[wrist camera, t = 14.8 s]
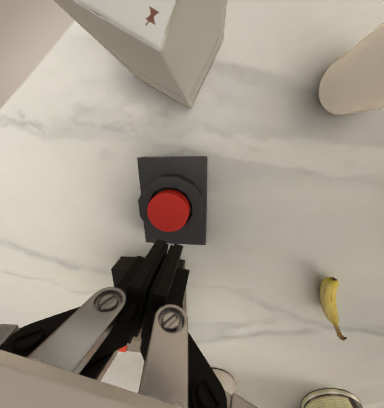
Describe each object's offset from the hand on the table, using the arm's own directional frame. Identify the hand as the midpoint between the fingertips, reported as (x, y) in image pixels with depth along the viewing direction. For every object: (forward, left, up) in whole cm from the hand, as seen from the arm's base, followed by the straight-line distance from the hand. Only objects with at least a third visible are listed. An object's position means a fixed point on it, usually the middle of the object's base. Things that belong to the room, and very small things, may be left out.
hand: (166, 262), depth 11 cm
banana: (-23, -3, -13) cm, 27 cm away
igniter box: (+2, +1, -13) cm, 13 cm away
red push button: (+2, +1, -9) cm, 10 cm away
